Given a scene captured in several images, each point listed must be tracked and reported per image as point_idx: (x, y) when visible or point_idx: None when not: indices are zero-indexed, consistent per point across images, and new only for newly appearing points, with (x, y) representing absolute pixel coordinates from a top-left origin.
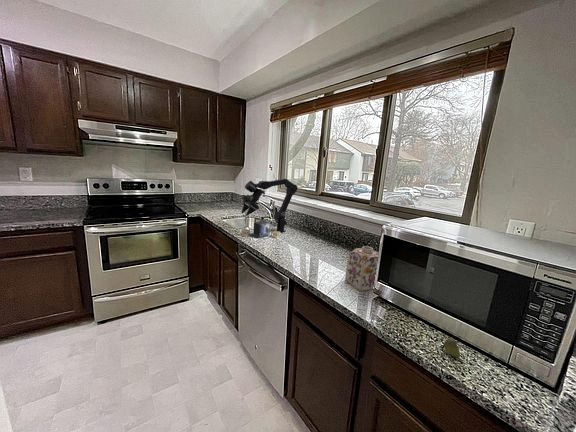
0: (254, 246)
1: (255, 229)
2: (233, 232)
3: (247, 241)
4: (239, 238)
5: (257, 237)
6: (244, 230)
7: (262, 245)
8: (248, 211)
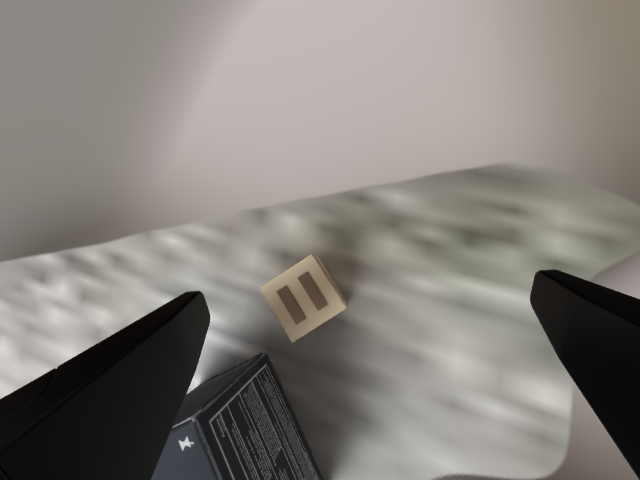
0: (22, 272)
1: (205, 391)
2: (432, 203)
3: (141, 256)
4: (231, 213)
5: (211, 379)
6: (292, 276)
7: (24, 341)
8: (70, 373)
